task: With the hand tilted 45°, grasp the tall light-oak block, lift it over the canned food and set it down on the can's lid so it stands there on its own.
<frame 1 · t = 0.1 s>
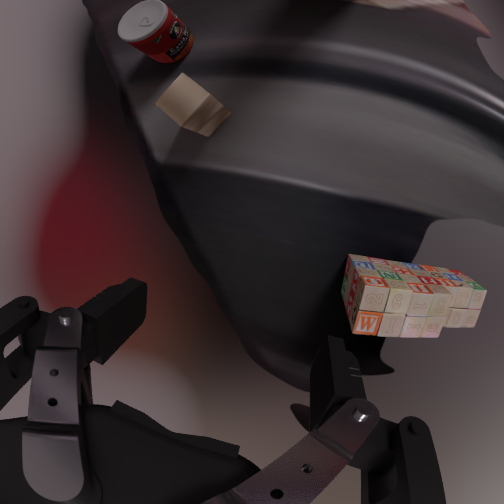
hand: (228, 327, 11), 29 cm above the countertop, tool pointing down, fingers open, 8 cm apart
stack of blocks: (404, 280, 38), on the countertop
canned food: (173, 46, 34), on the countertop
oak block: (208, 115, 36), on the countertop
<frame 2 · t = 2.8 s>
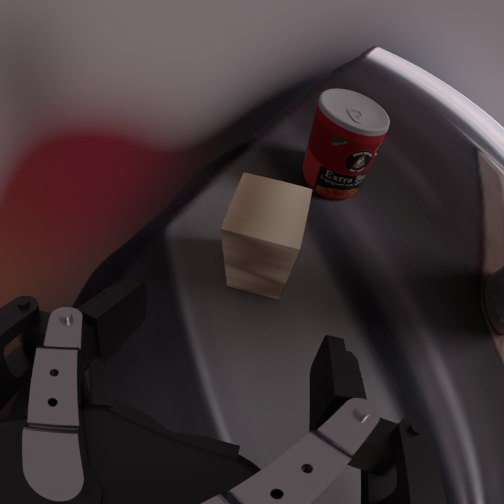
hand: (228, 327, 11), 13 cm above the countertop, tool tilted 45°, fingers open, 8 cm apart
canned food: (330, 178, 33), on the countertop
oak block: (259, 269, 26), on the countertop
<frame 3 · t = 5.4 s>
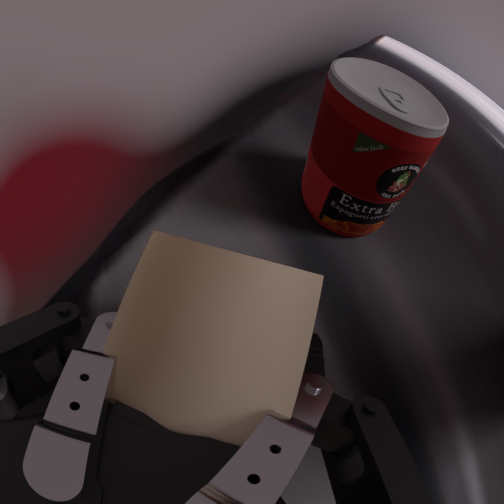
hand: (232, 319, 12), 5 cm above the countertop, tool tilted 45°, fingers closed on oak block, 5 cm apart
canned food: (343, 200, 22), on the countertop
oak block: (226, 364, 15), on the countertop, touching gripper
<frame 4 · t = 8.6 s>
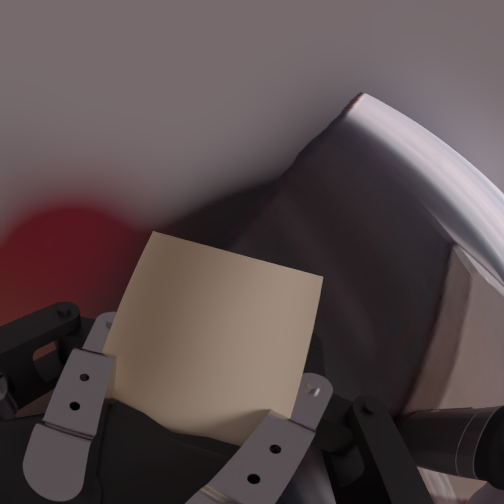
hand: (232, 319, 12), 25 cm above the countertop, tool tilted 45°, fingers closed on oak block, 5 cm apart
oak block: (225, 365, 15), point 20 cm above the countertop, touching gripper
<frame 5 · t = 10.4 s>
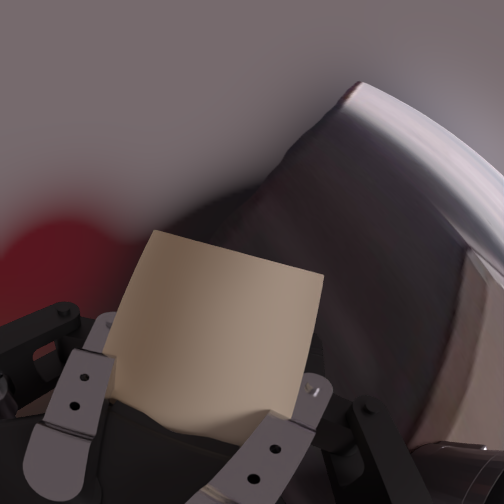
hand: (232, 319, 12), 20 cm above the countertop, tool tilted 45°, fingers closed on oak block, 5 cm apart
oak block: (226, 364, 15), point 16 cm above the countertop, touching gripper
when the fingers open (17 cm above the countertop, at t = 11.6 s): oak block drops 1 cm, resting on canned food.
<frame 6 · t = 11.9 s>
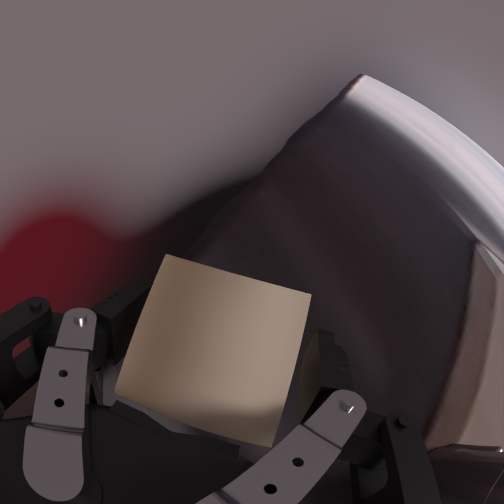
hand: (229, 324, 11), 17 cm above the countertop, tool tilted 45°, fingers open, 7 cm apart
oak block: (227, 366, 17), point 11 cm above the countertop, touching canned food
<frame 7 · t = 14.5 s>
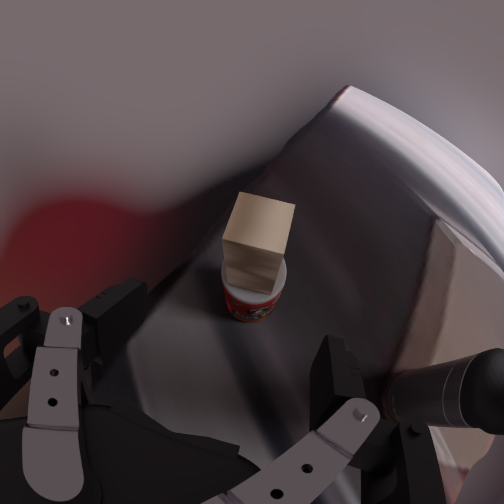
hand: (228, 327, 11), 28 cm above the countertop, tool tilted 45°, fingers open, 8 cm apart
canned food: (250, 298, 41), on the countertop, touching oak block
oak block: (254, 269, 31), point 11 cm above the countertop, touching canned food
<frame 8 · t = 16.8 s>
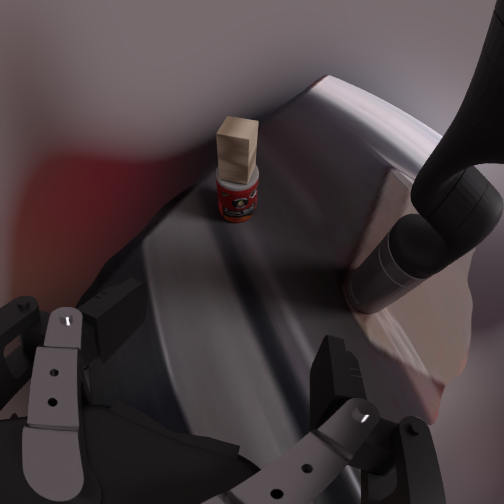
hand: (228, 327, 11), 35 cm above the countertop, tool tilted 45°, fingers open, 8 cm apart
canned food: (237, 208, 57), on the countertop, touching oak block
oak block: (237, 171, 47), point 11 cm above the countertop, touching canned food
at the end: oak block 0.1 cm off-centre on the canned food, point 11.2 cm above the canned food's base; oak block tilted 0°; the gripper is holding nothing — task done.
